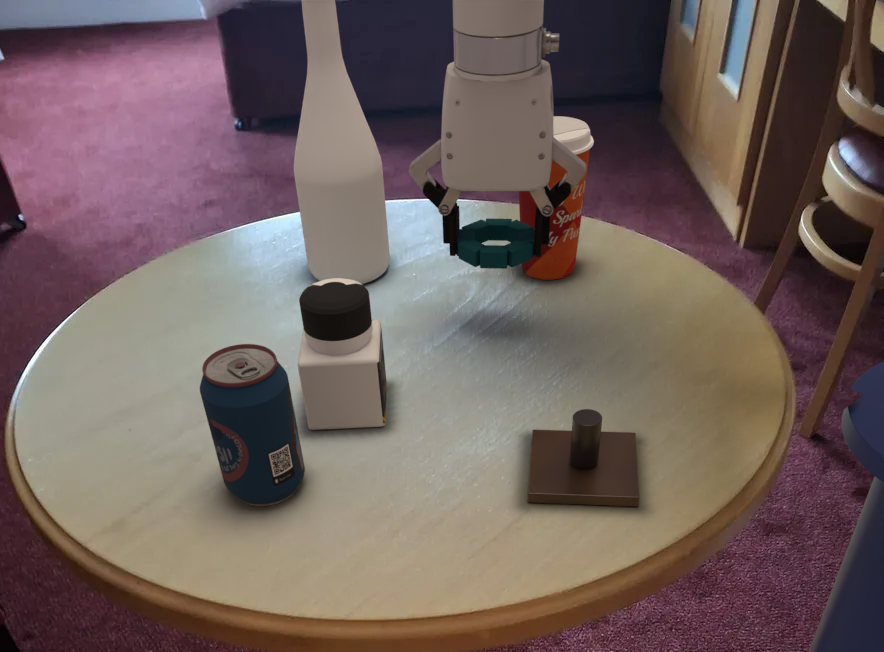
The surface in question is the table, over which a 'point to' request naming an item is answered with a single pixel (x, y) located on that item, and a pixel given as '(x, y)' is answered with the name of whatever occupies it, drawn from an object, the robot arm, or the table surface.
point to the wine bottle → (337, 163)
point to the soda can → (252, 423)
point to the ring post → (584, 464)
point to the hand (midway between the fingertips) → (496, 249)
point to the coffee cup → (560, 207)
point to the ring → (496, 255)
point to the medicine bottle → (341, 357)
